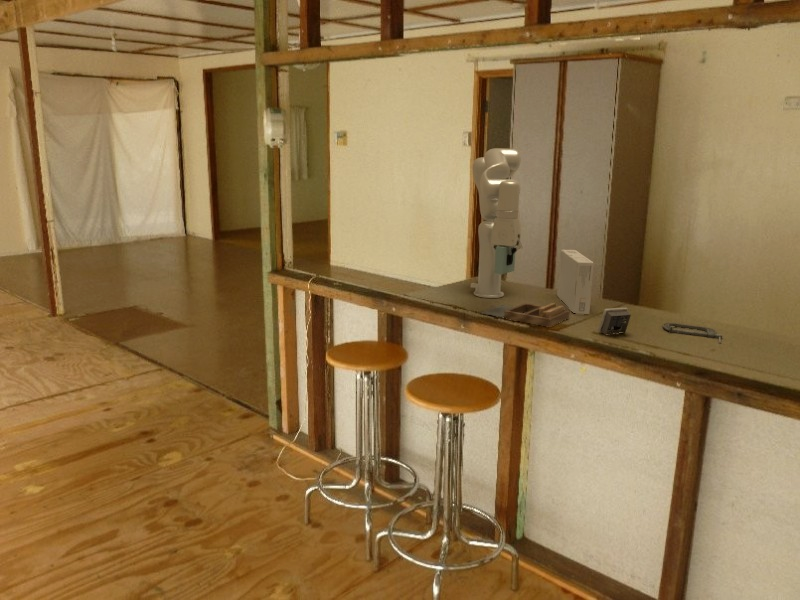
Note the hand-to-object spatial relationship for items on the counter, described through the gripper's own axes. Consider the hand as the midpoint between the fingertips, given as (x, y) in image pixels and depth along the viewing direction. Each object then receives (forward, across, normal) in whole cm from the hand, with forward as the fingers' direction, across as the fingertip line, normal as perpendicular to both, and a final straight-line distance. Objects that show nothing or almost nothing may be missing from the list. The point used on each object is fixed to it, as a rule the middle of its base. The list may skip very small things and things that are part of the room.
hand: (504, 263), depth 251 cm
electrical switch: (+19, +44, 0) cm, 48 cm away
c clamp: (+20, +64, +19) cm, 70 cm away
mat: (+19, 0, 0) cm, 19 cm away
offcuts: (+19, +20, 0) cm, 27 cm away
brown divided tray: (+19, +14, 0) cm, 24 cm away
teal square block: (+3, 0, 0) cm, 3 cm away
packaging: (+19, +16, +30) cm, 39 cm away
